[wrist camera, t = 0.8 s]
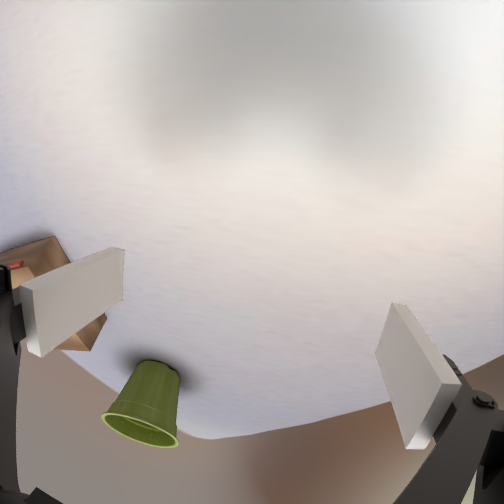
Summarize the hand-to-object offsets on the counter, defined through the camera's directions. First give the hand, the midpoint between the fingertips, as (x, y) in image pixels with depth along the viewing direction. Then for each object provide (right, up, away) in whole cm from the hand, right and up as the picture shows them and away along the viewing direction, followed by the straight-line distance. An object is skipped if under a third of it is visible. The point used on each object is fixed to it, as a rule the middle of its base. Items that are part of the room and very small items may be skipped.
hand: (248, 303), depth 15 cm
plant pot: (-15, -17, +34) cm, 40 cm away
